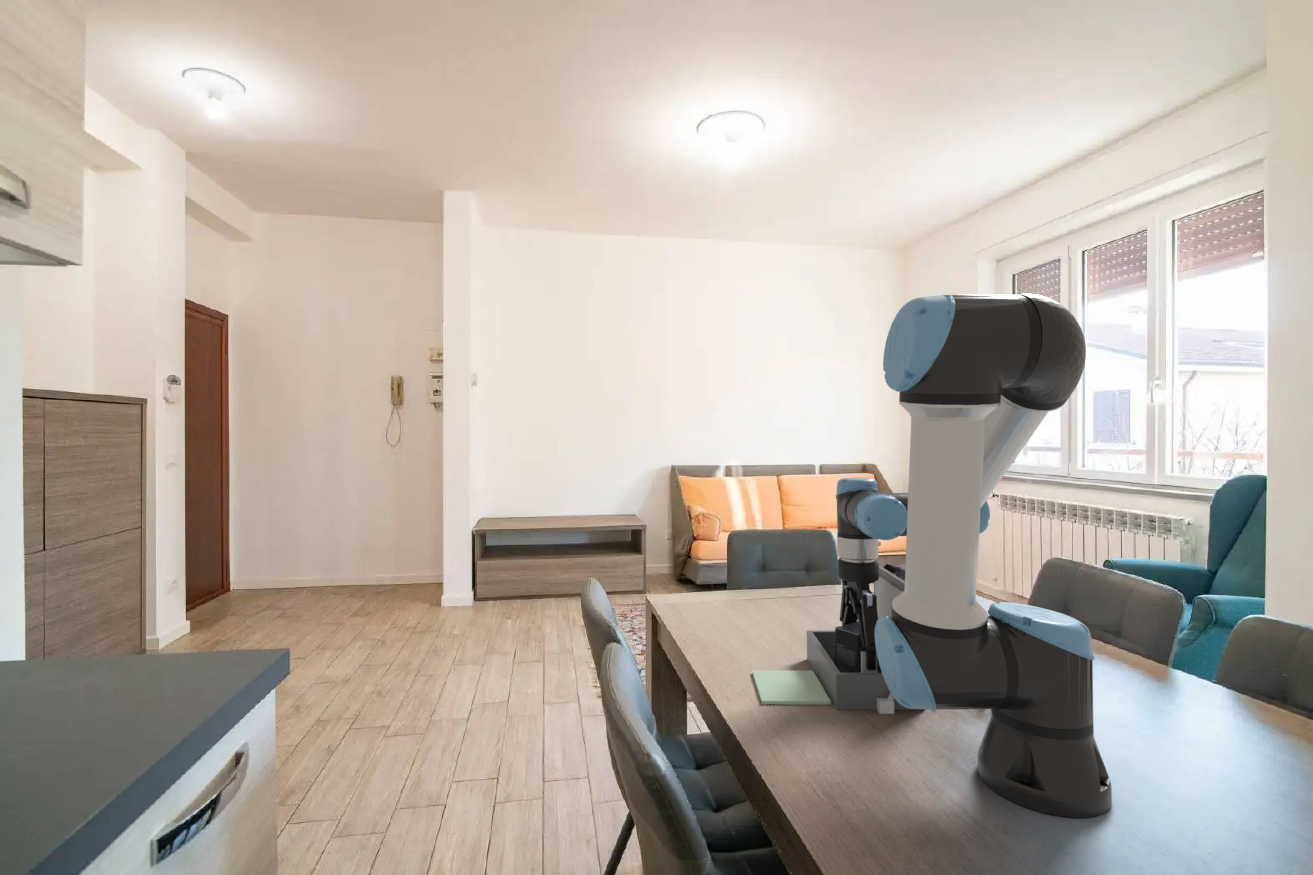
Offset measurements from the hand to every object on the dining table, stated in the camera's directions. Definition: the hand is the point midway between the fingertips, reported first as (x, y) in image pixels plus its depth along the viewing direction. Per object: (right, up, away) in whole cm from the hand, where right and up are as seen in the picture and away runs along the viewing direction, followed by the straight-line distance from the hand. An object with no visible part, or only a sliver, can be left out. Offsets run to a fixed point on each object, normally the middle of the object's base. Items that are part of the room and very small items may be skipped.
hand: (859, 673), depth 116 cm
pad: (-14, -2, -2) cm, 14 cm away
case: (0, -2, 0) cm, 2 cm away
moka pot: (+19, -2, +19) cm, 27 cm away
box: (0, -2, 0) cm, 2 cm away
